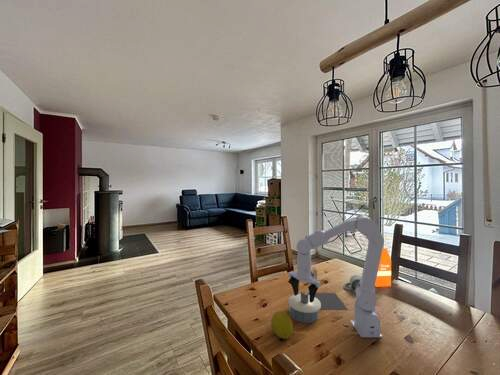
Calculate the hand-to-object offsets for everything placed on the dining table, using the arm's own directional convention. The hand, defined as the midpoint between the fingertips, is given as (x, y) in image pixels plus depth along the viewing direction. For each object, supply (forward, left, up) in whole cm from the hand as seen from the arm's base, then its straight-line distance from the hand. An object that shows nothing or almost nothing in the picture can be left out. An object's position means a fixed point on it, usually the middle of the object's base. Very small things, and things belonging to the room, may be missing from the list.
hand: (303, 298), depth 95 cm
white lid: (0, 0, -3) cm, 3 cm away
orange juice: (+31, -50, -8) cm, 59 cm away
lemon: (-12, +11, -8) cm, 18 cm away
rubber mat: (+11, -13, -8) cm, 19 cm away
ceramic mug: (+22, -32, -8) cm, 40 cm away
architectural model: (+34, -14, -8) cm, 38 cm away
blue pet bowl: (0, 0, -8) cm, 8 cm away
